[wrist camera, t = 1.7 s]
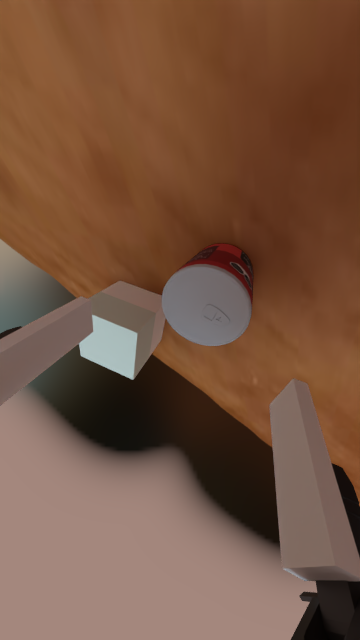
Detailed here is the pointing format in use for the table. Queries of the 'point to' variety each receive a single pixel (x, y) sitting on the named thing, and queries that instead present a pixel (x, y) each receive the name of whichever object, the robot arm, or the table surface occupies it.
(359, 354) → the table surface
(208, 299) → the canned food
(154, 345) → the tower base
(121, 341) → the tower top
